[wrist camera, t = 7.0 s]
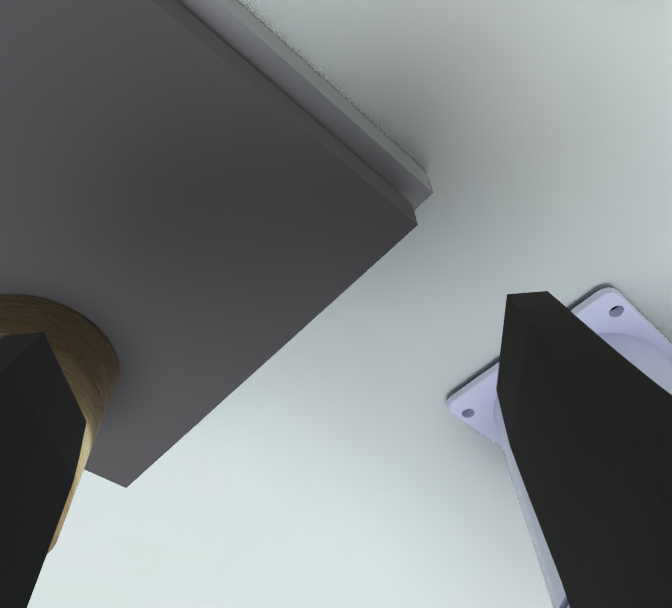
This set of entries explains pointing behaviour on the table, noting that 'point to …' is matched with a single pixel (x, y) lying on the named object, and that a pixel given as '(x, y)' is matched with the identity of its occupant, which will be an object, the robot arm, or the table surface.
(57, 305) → the cylinder
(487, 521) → the table surface
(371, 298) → the table surface
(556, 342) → the robot arm
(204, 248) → the scale pan
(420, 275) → the table surface
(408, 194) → the scale
